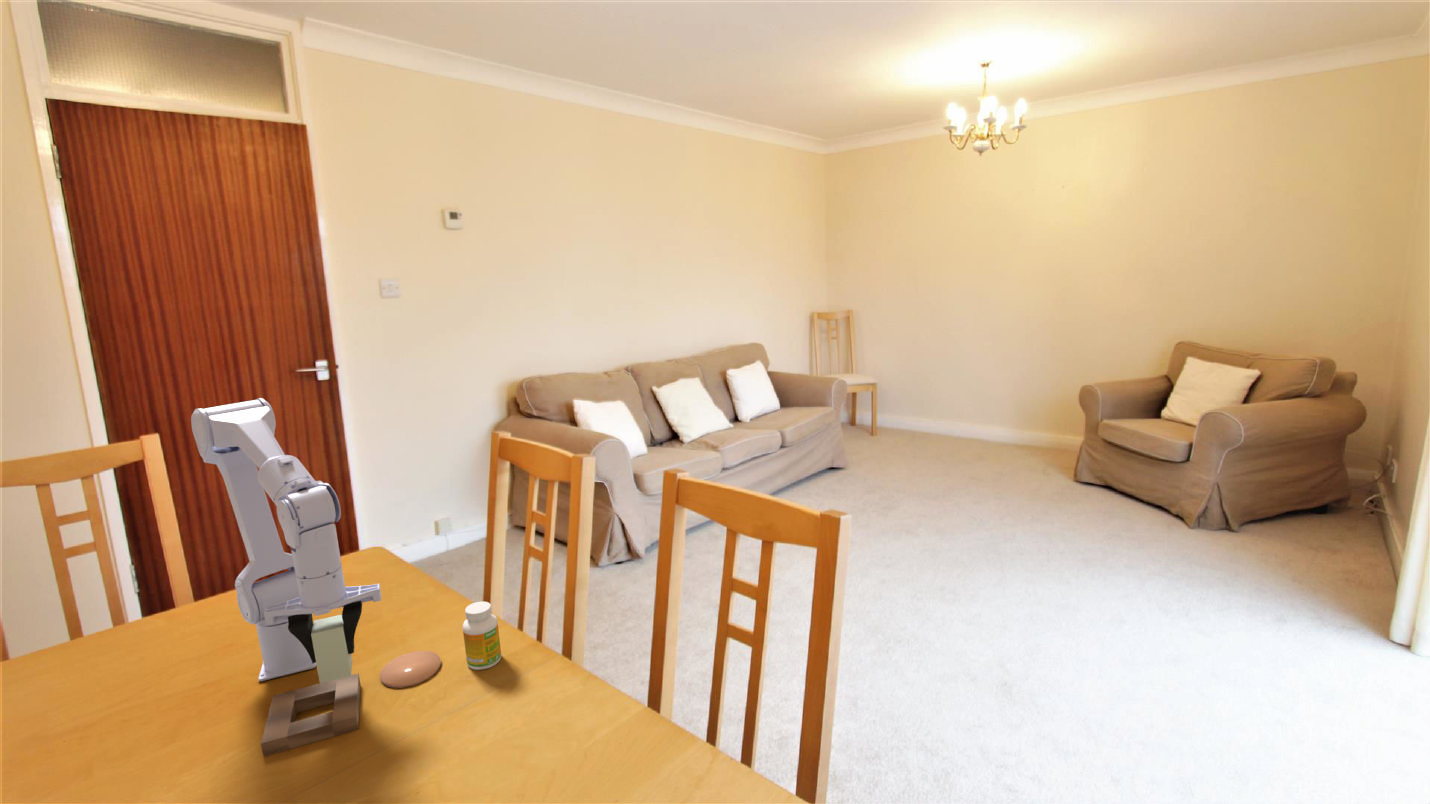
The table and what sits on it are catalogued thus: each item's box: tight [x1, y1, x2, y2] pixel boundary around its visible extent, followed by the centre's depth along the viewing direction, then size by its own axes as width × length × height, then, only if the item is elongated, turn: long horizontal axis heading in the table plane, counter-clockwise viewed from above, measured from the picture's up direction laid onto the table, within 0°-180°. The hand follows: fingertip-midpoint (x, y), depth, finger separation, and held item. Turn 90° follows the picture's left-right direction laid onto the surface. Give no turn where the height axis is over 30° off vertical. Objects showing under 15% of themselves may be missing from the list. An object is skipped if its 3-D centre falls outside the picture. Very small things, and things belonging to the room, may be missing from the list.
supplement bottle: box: [462, 601, 502, 671], centre depth 110 cm, size 5×5×10 cm
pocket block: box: [260, 673, 362, 757], centre depth 98 cm, size 11×11×2 cm
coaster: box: [379, 650, 442, 689], centre depth 109 cm, size 9×9×1 cm
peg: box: [311, 614, 353, 684], centre depth 99 cm, size 4×4×8 cm
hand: (333, 654), depth 99 cm, fingers closed on peg, 4 cm apart
